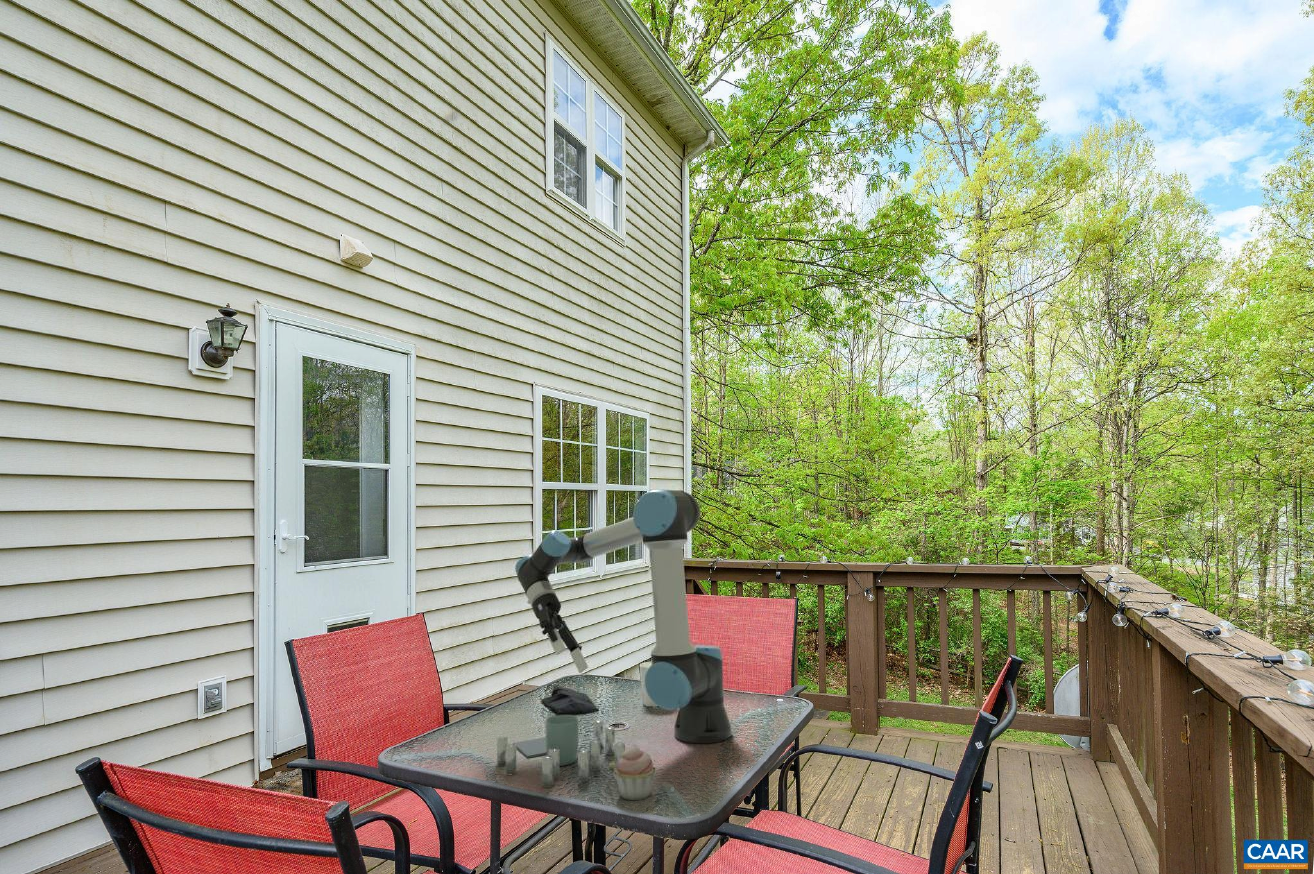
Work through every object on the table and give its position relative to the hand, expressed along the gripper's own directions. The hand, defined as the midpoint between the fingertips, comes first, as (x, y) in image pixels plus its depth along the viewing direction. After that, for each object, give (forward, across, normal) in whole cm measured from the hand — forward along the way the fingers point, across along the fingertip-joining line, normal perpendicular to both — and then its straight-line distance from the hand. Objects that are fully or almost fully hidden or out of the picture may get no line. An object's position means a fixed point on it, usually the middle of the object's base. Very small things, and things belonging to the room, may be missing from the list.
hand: (572, 661), depth 177 cm
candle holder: (0, -49, +6) cm, 50 cm away
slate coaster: (+11, -8, -18) cm, 22 cm away
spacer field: (+23, 0, -10) cm, 25 cm away
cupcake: (+41, +10, +2) cm, 43 cm away
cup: (+21, 0, -13) cm, 25 cm away
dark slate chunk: (-12, -41, -17) cm, 46 cm away
